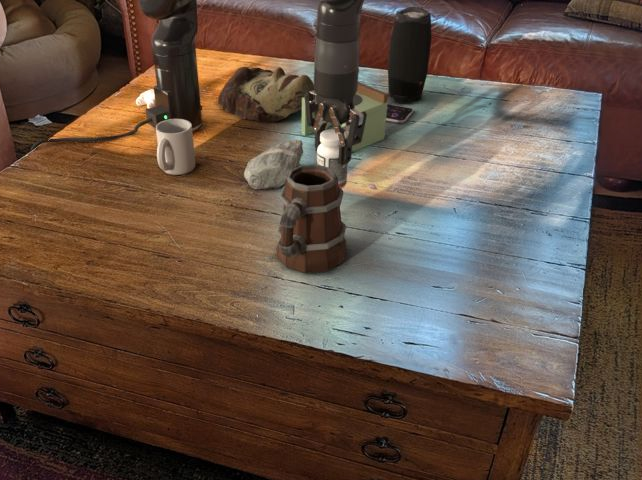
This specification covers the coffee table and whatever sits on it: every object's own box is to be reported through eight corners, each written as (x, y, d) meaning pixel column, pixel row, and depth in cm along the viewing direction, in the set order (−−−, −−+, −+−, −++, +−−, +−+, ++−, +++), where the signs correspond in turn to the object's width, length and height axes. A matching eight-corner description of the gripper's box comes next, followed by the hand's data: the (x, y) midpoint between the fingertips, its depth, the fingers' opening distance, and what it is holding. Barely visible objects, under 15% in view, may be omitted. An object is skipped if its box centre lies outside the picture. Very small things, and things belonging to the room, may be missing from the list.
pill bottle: (349, 179, 138) (353, 130, 132) (341, 194, 134) (344, 143, 128) (320, 175, 140) (322, 125, 133) (312, 189, 136) (313, 139, 129)
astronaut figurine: (128, 103, 177) (127, 91, 175) (165, 88, 184) (164, 76, 182) (152, 112, 173) (151, 99, 171) (189, 96, 180) (188, 84, 177)
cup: (202, 163, 153) (198, 122, 147) (177, 184, 146) (171, 142, 140) (173, 157, 155) (168, 116, 149) (147, 177, 148) (140, 135, 142)
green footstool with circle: (344, 155, 154) (346, 109, 147) (301, 133, 162) (301, 89, 156) (384, 138, 159) (388, 93, 153) (341, 119, 168) (343, 75, 161)
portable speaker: (430, 101, 174) (441, 15, 161) (393, 106, 172) (401, 19, 159) (415, 88, 180) (424, 4, 167) (380, 93, 178) (386, 8, 165)
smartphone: (354, 98, 174) (414, 108, 169) (354, 100, 175) (414, 111, 170) (342, 110, 170) (403, 121, 164) (342, 112, 170) (403, 123, 165)
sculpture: (281, 88, 157) (198, 64, 169) (282, 131, 163) (202, 105, 175) (338, 61, 169) (256, 41, 181) (336, 102, 175) (258, 80, 187)
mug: (296, 230, 132) (296, 152, 122) (357, 247, 127) (362, 168, 117) (252, 274, 122) (248, 193, 112) (316, 294, 117) (318, 212, 107)
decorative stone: (290, 194, 142) (290, 166, 138) (240, 190, 144) (238, 162, 140) (303, 164, 151) (303, 137, 147) (256, 160, 153) (254, 133, 149)
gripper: (382, 70, 119) (374, 165, 131) (325, 47, 128) (321, 138, 139) (349, 82, 116) (343, 178, 127) (292, 57, 125) (291, 149, 136)
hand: (332, 156), depth 133 cm, fingers closed on pill bottle, 5 cm apart
